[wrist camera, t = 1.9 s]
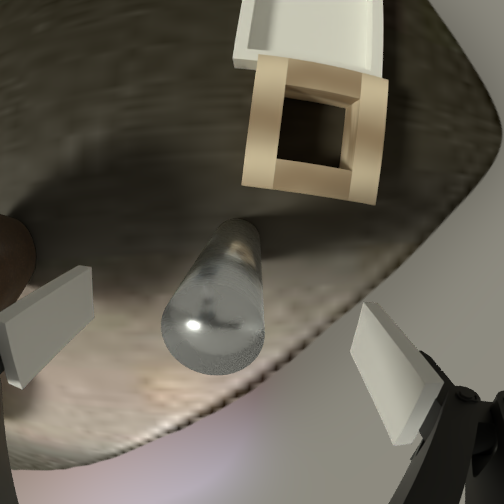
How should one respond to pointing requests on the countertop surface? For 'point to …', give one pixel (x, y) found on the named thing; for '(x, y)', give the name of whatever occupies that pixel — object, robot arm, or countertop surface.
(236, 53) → the tray
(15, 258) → the plant pot
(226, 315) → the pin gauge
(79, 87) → the countertop surface
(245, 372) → the countertop surface
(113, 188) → the countertop surface
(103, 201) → the countertop surface
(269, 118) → the beige square frame
